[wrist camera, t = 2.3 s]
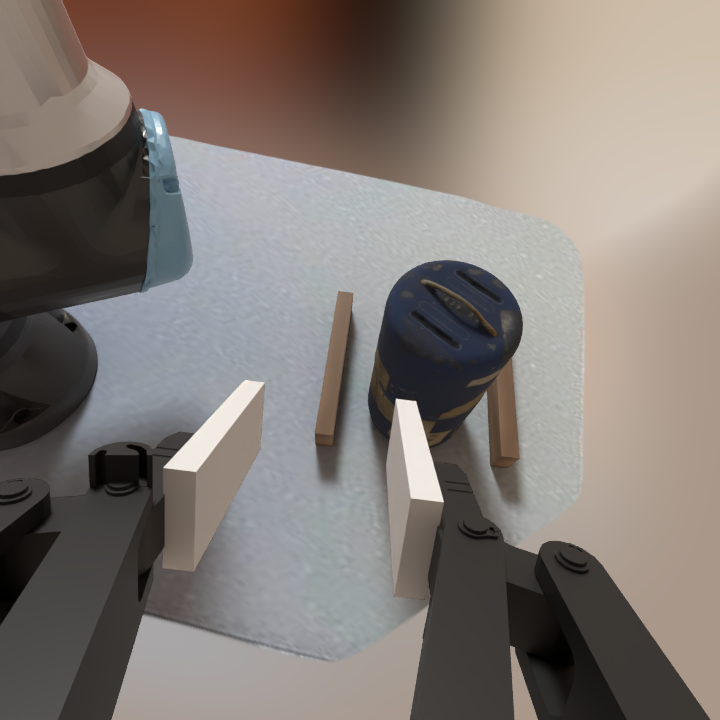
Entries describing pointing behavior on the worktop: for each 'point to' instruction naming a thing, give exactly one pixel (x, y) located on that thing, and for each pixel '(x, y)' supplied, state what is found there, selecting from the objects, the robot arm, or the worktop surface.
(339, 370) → the walnut chute
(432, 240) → the worktop surface
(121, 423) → the worktop surface
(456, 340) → the canister
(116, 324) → the worktop surface
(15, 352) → the robot arm
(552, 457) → the worktop surface
